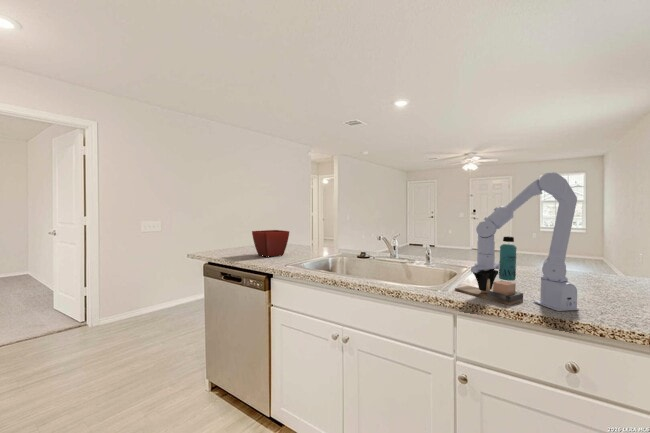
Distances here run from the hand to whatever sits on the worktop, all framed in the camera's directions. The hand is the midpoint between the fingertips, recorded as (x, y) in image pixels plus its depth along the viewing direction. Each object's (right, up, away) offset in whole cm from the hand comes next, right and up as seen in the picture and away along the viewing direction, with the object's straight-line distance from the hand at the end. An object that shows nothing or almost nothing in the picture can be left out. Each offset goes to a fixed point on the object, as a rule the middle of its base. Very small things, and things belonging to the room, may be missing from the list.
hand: (485, 289), depth 115 cm
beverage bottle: (+19, -1, +19) cm, 27 cm away
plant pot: (-97, 0, +94) cm, 135 cm away
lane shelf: (0, -2, 0) cm, 2 cm away
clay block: (+2, -1, -3) cm, 4 cm away
